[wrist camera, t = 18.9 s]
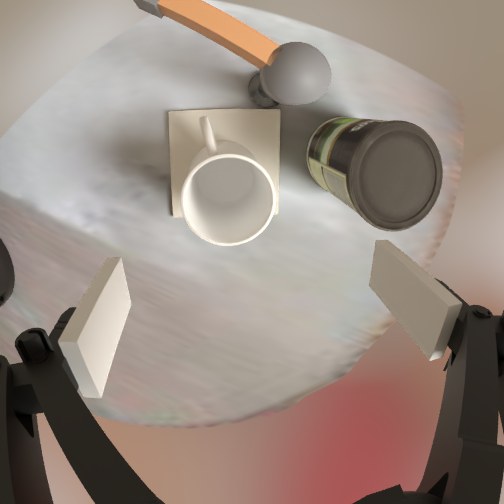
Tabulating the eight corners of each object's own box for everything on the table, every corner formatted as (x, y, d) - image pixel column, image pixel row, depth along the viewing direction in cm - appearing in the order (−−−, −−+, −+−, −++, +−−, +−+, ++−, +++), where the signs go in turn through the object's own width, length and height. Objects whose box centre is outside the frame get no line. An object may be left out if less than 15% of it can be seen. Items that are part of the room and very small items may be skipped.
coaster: (173, 216, 39) (173, 217, 39) (169, 111, 34) (168, 111, 34) (277, 212, 41) (277, 214, 40) (279, 109, 35) (280, 109, 35)
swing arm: (328, 73, 24) (344, 68, 20) (297, 117, 25) (308, 117, 22) (165, -23, 19) (158, -40, 15) (130, 20, 20) (119, 7, 17)
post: (248, 106, 35) (262, 101, 24) (248, 71, 33) (263, 52, 23) (285, 107, 35) (313, 103, 25) (285, 73, 34) (314, 56, 23)
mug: (174, 124, 34) (156, 126, 23) (247, 107, 34) (261, 102, 24) (197, 217, 39) (191, 258, 28) (265, 202, 39) (286, 237, 28)
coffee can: (304, 115, 36) (350, 116, 23) (379, 119, 37) (446, 126, 24) (304, 196, 40) (346, 235, 27) (376, 194, 41) (436, 229, 28)
